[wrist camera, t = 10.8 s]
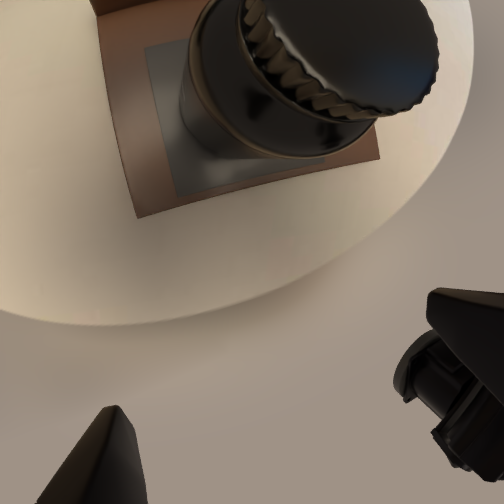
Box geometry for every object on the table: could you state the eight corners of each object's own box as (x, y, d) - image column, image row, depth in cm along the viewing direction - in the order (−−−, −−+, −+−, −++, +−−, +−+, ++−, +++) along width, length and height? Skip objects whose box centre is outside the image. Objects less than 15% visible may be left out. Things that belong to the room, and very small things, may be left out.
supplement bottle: (158, 73, 14) (154, -74, 3) (268, 35, 15) (391, -79, 4) (210, 181, 17) (299, 215, 5) (314, 134, 17) (489, 119, 6)
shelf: (368, 158, 21) (409, 160, 16) (139, 215, 18) (130, 229, 13) (324, -11, 16) (354, -37, 12) (99, 13, 13) (85, -21, 9)
